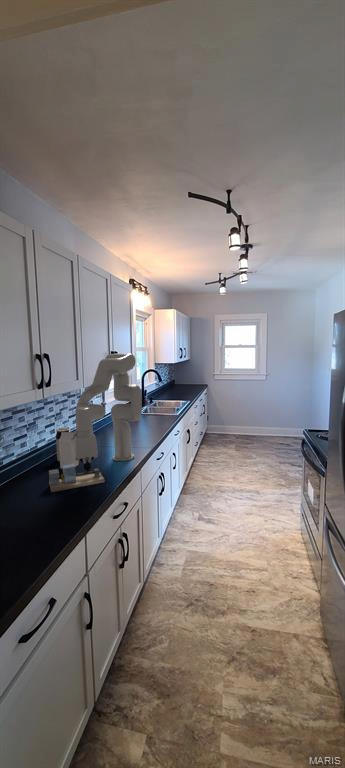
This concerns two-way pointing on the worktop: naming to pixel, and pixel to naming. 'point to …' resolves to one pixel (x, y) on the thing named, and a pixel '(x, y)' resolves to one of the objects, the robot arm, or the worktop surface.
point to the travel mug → (59, 438)
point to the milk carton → (67, 449)
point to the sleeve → (69, 473)
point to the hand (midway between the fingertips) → (87, 470)
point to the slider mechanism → (81, 480)
